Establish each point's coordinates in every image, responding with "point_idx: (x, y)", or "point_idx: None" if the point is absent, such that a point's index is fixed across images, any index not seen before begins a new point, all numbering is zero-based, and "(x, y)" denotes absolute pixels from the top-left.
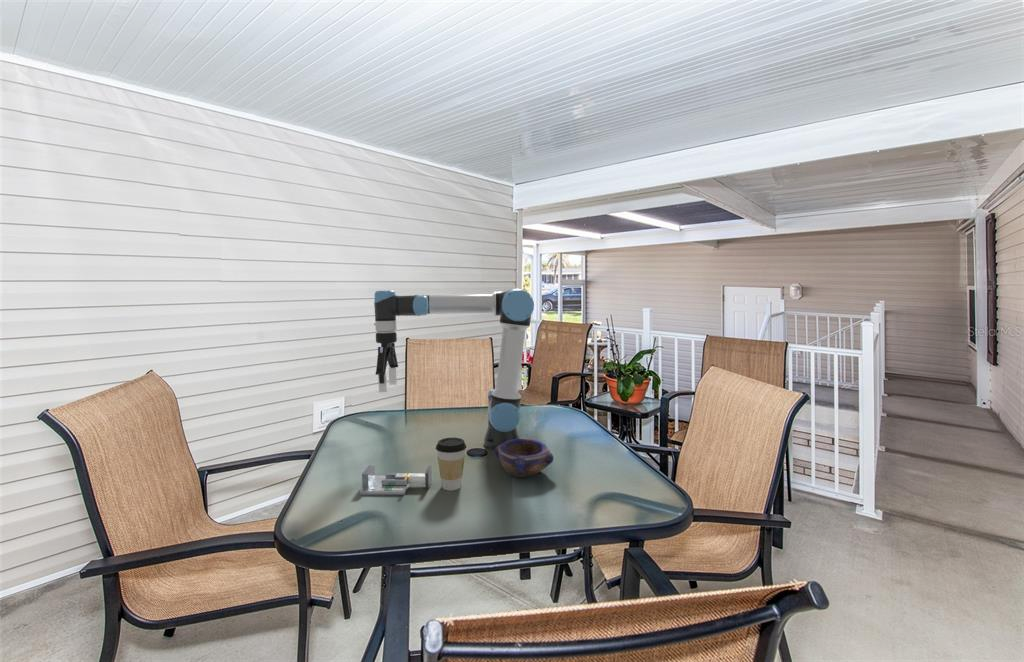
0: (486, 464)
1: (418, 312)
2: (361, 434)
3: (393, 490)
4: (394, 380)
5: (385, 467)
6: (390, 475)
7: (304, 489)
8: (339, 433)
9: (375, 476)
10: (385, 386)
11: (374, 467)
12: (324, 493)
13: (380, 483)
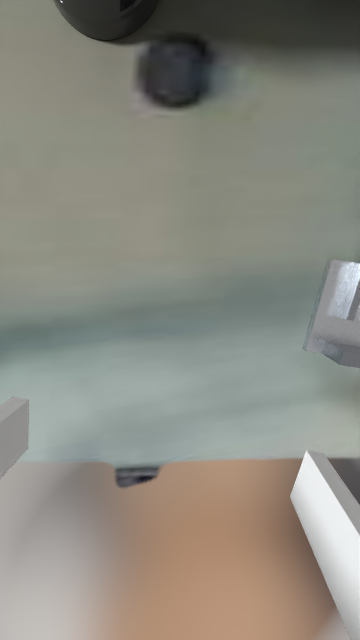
0: (280, 45)
1: None
2: None
3: None
4: (1, 435)
5: (241, 325)
6: (356, 309)
7: None
8: None
9: (313, 341)
10: (353, 504)
11: (343, 349)
12: (348, 420)
13: (357, 326)
